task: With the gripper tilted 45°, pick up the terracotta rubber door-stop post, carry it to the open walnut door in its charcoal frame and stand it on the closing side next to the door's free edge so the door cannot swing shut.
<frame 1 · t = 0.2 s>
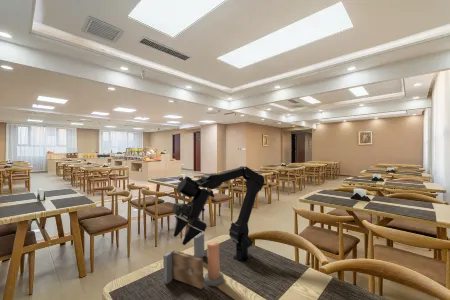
hand: (178, 240, 82), 15 cm above the table, tool tilted 35°, fingers open, 9 cm apart
door stop: (214, 280, 81), on the table
door frame: (184, 268, 89), on the table
door: (185, 268, 79), point 5 cm above the table, hinge at -90.0°
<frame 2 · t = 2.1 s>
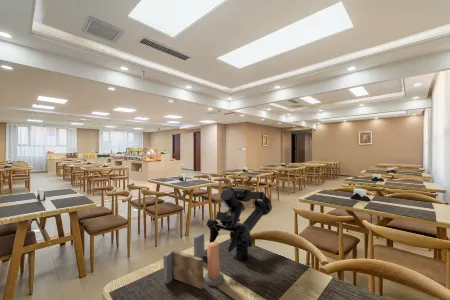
hand: (219, 248, 84), 10 cm above the table, tool tilted 45°, fingers open, 9 cm apart
nothing on the table moved.
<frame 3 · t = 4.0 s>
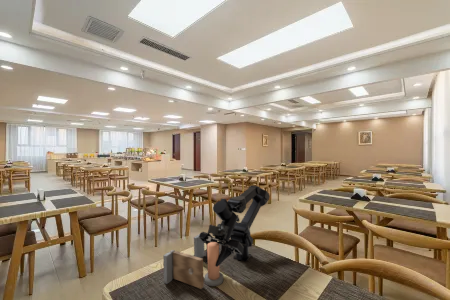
hand: (211, 264, 79), 7 cm above the table, tool tilted 45°, fingers closed on door stop, 4 cm apart
door stop: (213, 280, 81), on the table, touching gripper
everything else where it was.
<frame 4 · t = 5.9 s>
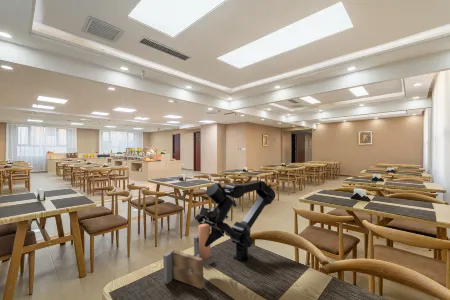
hand: (201, 244, 82), 13 cm above the table, tool tilted 45°, fingers closed on door stop, 4 cm apart
door stop: (205, 260, 83), point 6 cm above the table, touching gripper
everything else where it was.
when the fingers open (7 cm above the table, at t = 7.8 s): door stop stays where it is, on the table.
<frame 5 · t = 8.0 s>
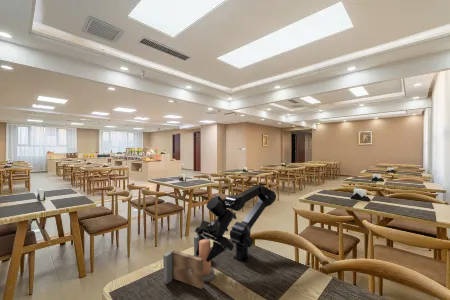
hand: (201, 258, 82), 8 cm above the table, tool tilted 45°, fingers open, 6 cm apart
door stop: (205, 276, 83), on the table
everything else where it was.
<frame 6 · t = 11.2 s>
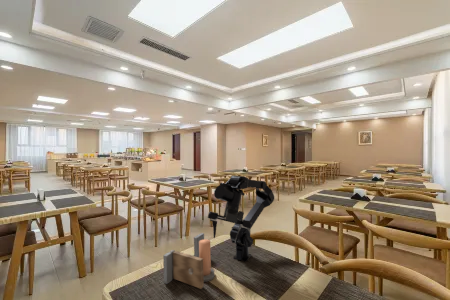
hand: (224, 240, 89), 11 cm above the table, tool tilted 20°, fingers open, 9 cm apart
nothing on the table moved.
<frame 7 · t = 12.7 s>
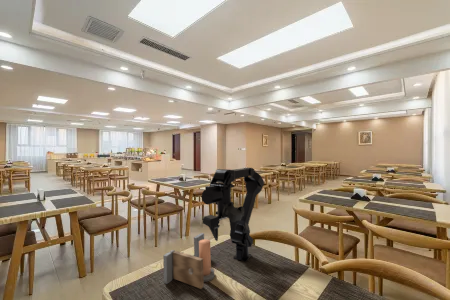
hand: (225, 237, 88), 13 cm above the table, tool pointing down, fingers open, 9 cm apart
nothing on the table moved.
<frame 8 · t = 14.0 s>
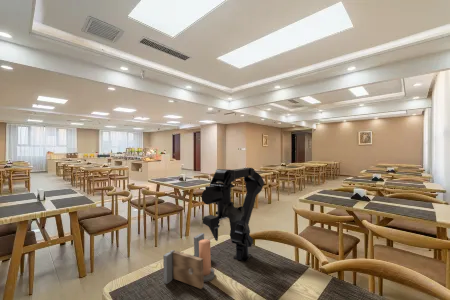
hand: (225, 237, 88), 13 cm above the table, tool pointing down, fingers open, 9 cm apart
nothing on the table moved.
at the end: door stop 1.0 cm from the target spot, on the table; door stop tilted 0°; door at -90° (first picture: -90°) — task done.
